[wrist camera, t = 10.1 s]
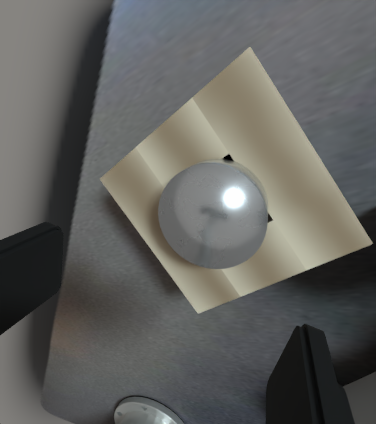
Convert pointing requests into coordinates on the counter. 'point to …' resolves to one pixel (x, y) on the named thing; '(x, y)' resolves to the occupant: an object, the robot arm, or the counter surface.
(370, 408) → the white curved block
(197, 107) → the block
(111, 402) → the counter surface
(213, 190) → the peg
